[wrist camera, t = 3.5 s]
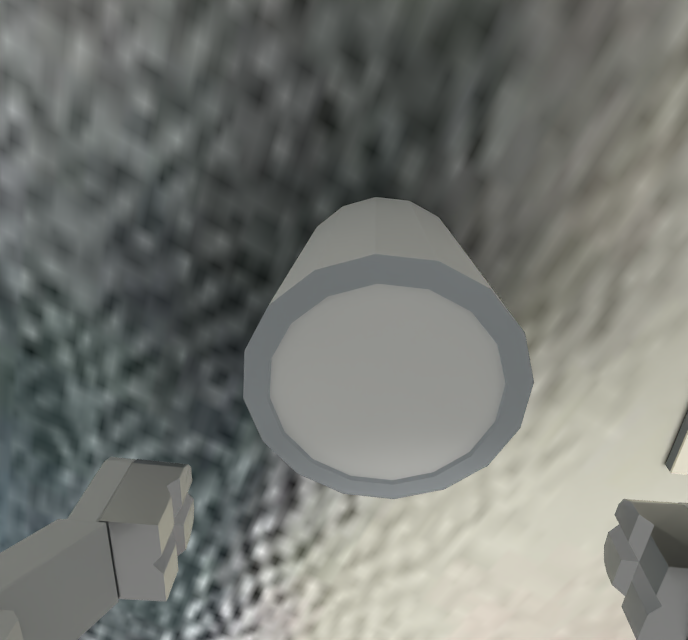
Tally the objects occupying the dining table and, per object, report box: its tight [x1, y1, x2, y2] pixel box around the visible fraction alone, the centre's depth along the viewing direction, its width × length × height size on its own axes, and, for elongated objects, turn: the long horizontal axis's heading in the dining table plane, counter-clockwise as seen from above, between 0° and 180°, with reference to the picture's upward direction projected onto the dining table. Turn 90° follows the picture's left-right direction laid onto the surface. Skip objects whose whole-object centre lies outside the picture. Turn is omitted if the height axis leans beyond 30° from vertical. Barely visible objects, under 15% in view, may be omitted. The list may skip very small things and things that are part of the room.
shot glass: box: [243, 197, 534, 499], centre depth 17 cm, size 7×7×7 cm
